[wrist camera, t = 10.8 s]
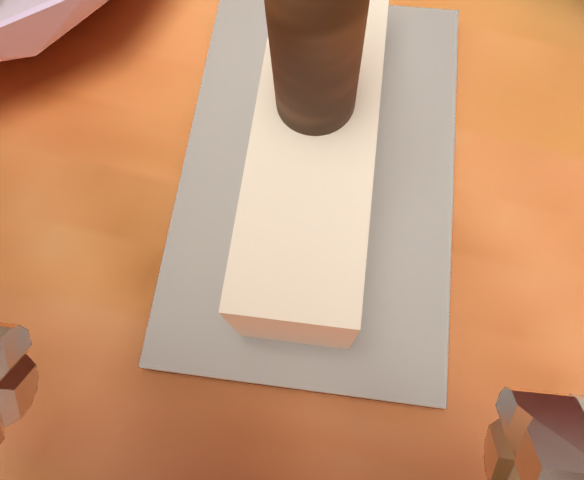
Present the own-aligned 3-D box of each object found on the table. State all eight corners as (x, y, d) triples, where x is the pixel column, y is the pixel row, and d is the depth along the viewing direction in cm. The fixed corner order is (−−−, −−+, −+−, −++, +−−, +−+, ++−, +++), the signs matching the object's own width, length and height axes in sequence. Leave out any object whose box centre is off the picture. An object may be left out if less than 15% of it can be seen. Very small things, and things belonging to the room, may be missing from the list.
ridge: (145, 369, 24) (81, 353, 17) (223, 5, 31) (199, -105, 24) (440, 408, 23) (493, 408, 16) (453, 23, 30) (494, -88, 23)
